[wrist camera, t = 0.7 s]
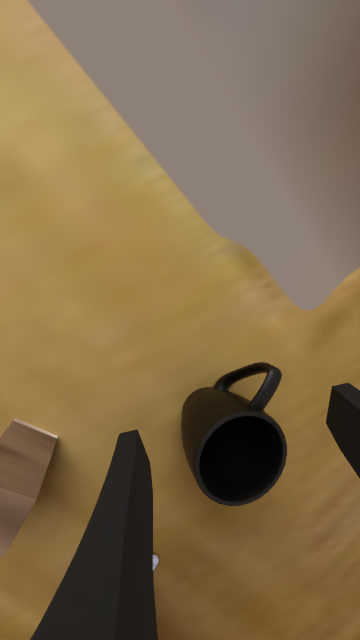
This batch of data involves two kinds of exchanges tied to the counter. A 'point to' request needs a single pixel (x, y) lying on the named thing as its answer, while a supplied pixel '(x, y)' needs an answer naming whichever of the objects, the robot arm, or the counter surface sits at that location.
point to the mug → (234, 438)
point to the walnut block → (21, 475)
